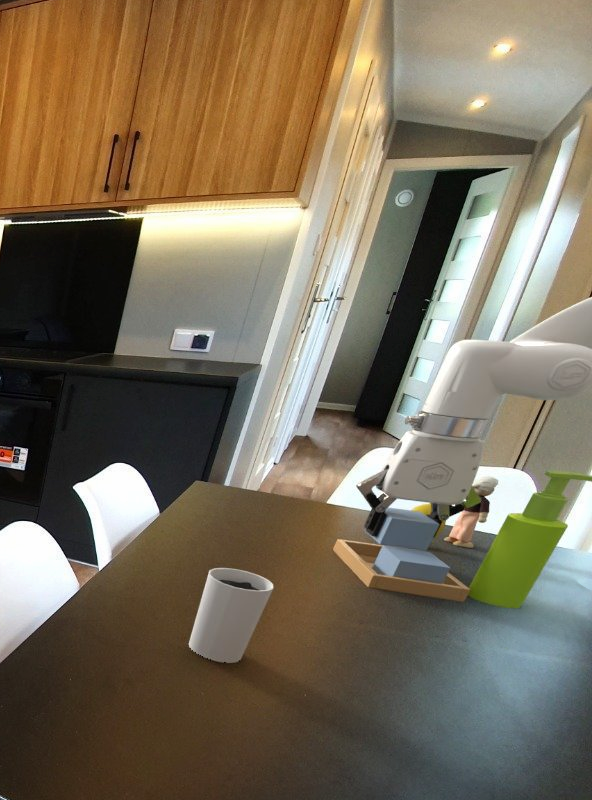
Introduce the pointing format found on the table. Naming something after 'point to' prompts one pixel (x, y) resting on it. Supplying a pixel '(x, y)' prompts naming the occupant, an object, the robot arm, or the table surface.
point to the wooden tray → (362, 563)
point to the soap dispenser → (523, 546)
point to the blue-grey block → (410, 564)
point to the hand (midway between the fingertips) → (396, 536)
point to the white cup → (228, 613)
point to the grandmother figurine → (473, 514)
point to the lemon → (427, 510)
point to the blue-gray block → (406, 529)
